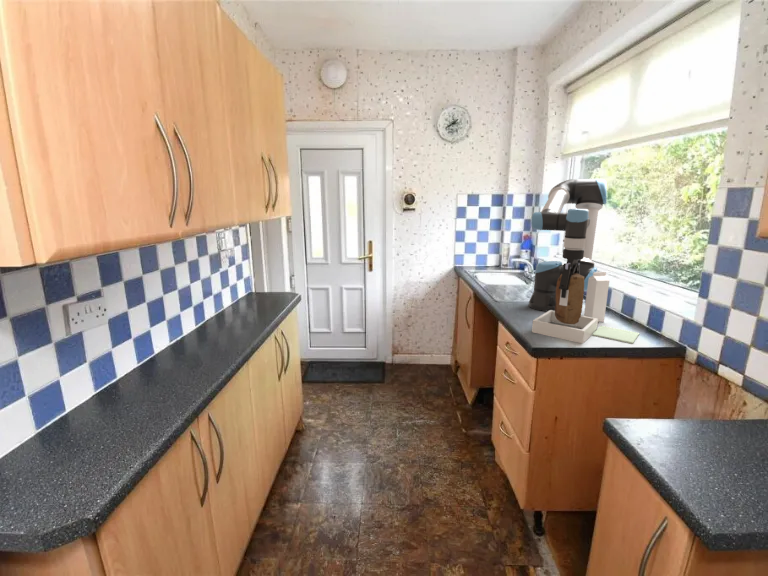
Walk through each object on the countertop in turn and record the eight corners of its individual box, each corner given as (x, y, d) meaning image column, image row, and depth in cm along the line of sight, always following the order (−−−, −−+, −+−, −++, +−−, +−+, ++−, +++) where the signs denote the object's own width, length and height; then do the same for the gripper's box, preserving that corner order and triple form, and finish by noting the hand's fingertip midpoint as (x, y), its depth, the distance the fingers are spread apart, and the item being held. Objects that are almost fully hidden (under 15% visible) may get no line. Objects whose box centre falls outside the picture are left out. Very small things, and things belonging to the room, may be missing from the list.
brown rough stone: (581, 325, 155) (587, 276, 151) (563, 325, 155) (569, 276, 150) (567, 316, 166) (572, 270, 161) (550, 317, 165) (555, 271, 161)
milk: (604, 321, 173) (611, 273, 168) (591, 322, 173) (597, 273, 168) (595, 317, 179) (602, 270, 174) (583, 317, 179) (589, 270, 174)
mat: (600, 326, 166) (601, 325, 166) (639, 334, 157) (639, 332, 157) (592, 335, 156) (592, 334, 156) (632, 343, 147) (632, 342, 147)
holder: (549, 320, 175) (550, 309, 174) (596, 330, 162) (598, 318, 161) (531, 332, 160) (532, 320, 159) (582, 343, 147) (584, 331, 146)
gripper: (572, 244, 164) (567, 295, 169) (553, 251, 147) (548, 306, 152) (592, 246, 159) (585, 298, 165) (574, 253, 142) (568, 310, 147)
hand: (567, 302), depth 158 cm, fingers closed on brown rough stone, 11 cm apart
